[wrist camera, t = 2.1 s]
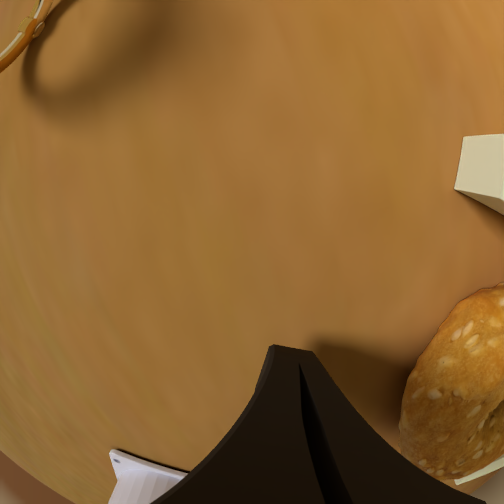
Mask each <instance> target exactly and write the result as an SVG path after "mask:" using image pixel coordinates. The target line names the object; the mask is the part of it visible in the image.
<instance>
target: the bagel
mask: <svg viewBox="0 0 504 504" xmlns="http://www.w3.org/2000/svg"><path fill="white" fill-rule="evenodd" d="M398 427H399V430H400V438H399V447H400V448H401V453H402V455H403V457H405V458H406V459H407V460H409V461H410V462H411V463H413V464H414V465H415V466H417V467H418V468H419V469H421V470H422V471H424V472H426V473H427V474H429V475H430V476H432V477H433V478H435V479H437V480H439V481H440V480H446V479H461V478H463V477H465V476H468V475H471V474H472V473H474V472H477V471H478V470H481V469H483V468H485V467H486V466H488V465H489V464H491V463H492V462H494V461H495V460H496V459H498V458H499V457H500V456H502V455H503V454H504V283H503V282H502V283H499V284H498V285H497V286H496V287H493V288H489V289H480V290H478V291H477V292H476V293H474V294H473V295H471V296H469V297H468V298H466V299H464V300H462V301H460V302H459V303H458V304H457V305H456V306H455V308H454V309H453V310H452V311H451V312H450V314H449V316H448V318H447V319H446V320H445V321H444V322H443V323H442V324H441V325H440V327H439V329H438V332H437V334H435V336H434V338H433V339H432V341H431V342H430V343H429V344H428V346H427V347H426V348H425V350H424V352H423V353H422V354H421V355H420V356H419V358H418V360H417V362H416V367H415V368H414V369H413V370H412V372H411V374H410V375H409V377H408V379H407V384H406V387H405V390H404V394H403V398H402V407H401V419H400V421H399V425H398Z"/></svg>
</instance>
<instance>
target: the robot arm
mask: <svg viewBox="0 0 504 504" xmlns="http://www.w3.org/2000/svg"><path fill="white" fill-rule="evenodd" d="M109 455H110V458H111V462H112V465H113V468H114V471H115V474H116V477H117V480H118V482H117V484H116V486H115V489H114V491H113V493H112V495H111V498H110V500H109V502H108V504H486V502H485V501H482V500H480V499H477V498H475V497H472V496H470V495H467V494H465V493H463V492H460V491H458V490H456V489H453V488H451V487H450V486H448V485H446V484H444V483H442V482H440V481H439V480H437V479H435V478H433V477H432V476H430V475H429V474H427V473H426V472H424V471H422V470H421V469H419V468H418V467H417V466H415V465H414V464H413V463H411V462H410V461H409V460H407V459H406V458H405V457H403V456H402V455H401V454H400V453H398V452H397V451H396V450H395V449H394V448H392V447H391V446H390V445H389V444H388V443H387V442H386V441H385V440H384V439H383V438H382V437H381V436H380V435H379V434H377V433H376V432H375V431H374V430H373V429H372V427H371V426H370V425H369V424H368V423H367V422H366V421H365V420H364V419H363V418H362V416H361V415H360V414H359V413H358V412H357V411H356V410H355V408H354V407H353V406H352V405H351V403H350V402H349V401H348V400H347V398H346V397H345V396H344V394H343V393H342V392H341V391H340V389H339V388H338V386H337V385H336V384H335V382H334V381H333V380H332V378H331V377H330V375H329V374H328V372H327V371H326V370H325V368H324V367H323V365H322V364H321V362H320V361H319V360H318V358H317V357H316V355H315V354H314V353H313V351H307V350H301V349H296V348H290V347H285V346H280V345H275V344H273V345H271V346H269V349H268V352H267V355H266V358H265V361H264V364H263V367H262V370H261V373H260V376H259V379H258V382H257V385H256V388H255V393H254V394H253V396H252V398H251V400H250V401H249V403H248V405H247V406H246V408H245V409H244V411H243V412H242V414H241V415H240V417H239V418H238V420H237V421H236V422H235V424H234V425H233V426H232V428H231V429H230V430H229V432H228V433H227V434H226V435H225V436H224V438H223V439H222V440H221V441H220V442H219V443H218V445H217V446H216V447H215V448H214V449H213V450H212V451H211V452H210V453H209V454H208V455H207V457H206V458H205V459H204V460H203V461H201V462H200V463H199V464H198V465H197V466H196V467H195V468H194V469H193V470H192V471H191V472H190V473H184V472H180V471H177V470H173V469H170V468H166V467H163V466H160V465H157V464H154V463H151V462H148V461H145V460H142V459H139V458H136V457H134V456H131V455H128V454H126V453H123V452H121V451H118V450H115V449H112V450H111V451H110V453H109Z"/></svg>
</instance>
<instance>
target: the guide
mask: <svg viewBox="0 0 504 504" xmlns="http://www.w3.org/2000/svg"><path fill="white" fill-rule="evenodd" d="M454 189H455V190H457V191H459V192H461V193H463V194H465V195H467V196H469V197H471V198H473V199H475V200H477V201H479V202H481V203H483V204H484V205H486V206H488V207H490V208H492V209H493V210H495V211H497V212H499V213H501V214H502V215H504V134H492V135H478V136H467V137H463V144H462V151H461V157H460V162H459V168H458V173H457V178H456V183H455V187H454ZM503 466H504V454H503V455H502V456H500V457H499V458H498V459H496V460H495V461H494V462H492V463H491V464H489V465H488V466H486V467H485V468H483V469H481V470H478V471H477V472H474V473H472V474H471V475H468V476H465V477H463V478H461V479H454V481H455V483H456V485H458V484H461V483H464V482H467V481H470V480H472V479H475V478H478V477H480V476H483V475H485V474H488V473H490V472H492V471H495V470H497V469H499V468H501V467H503Z"/></svg>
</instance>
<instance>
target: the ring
mask: <svg viewBox="0 0 504 504" xmlns="http://www.w3.org/2000/svg"><path fill="white" fill-rule="evenodd" d="M52 3H53V0H36V2H35V5H34V7H33V9H32V12H31V14H30V16H29V17H26V18H25V19H24V20H23V21H22V22H21V24H20V25H19V28H18V32H19V34H18V35H17V36H16V38H15V39H14V40H13V41H12V42H11V44H10V45H9V46H8V47H7V48H6V49H5V50H4V51H3V52H2V53H1V54H0V73H1V72H2V71H4V70H5V69H6V68H7V67H8V66H9V65H10V64H11V63H12V62H13V61H14V60H15V59H16V58H17V57H18V56H19V55H20V54H21V53H22V52H23V50H24V49H25V48H26V47H27V46H28V44H29V43H30V42H31V40H32V39H33V38H36V37H38V36H39V34H40V33H41V32H42V30H43V28H44V26H45V23H44V20H45V18H46V16H47V14H48V12H49V10H50V8H51V5H52Z"/></svg>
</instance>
